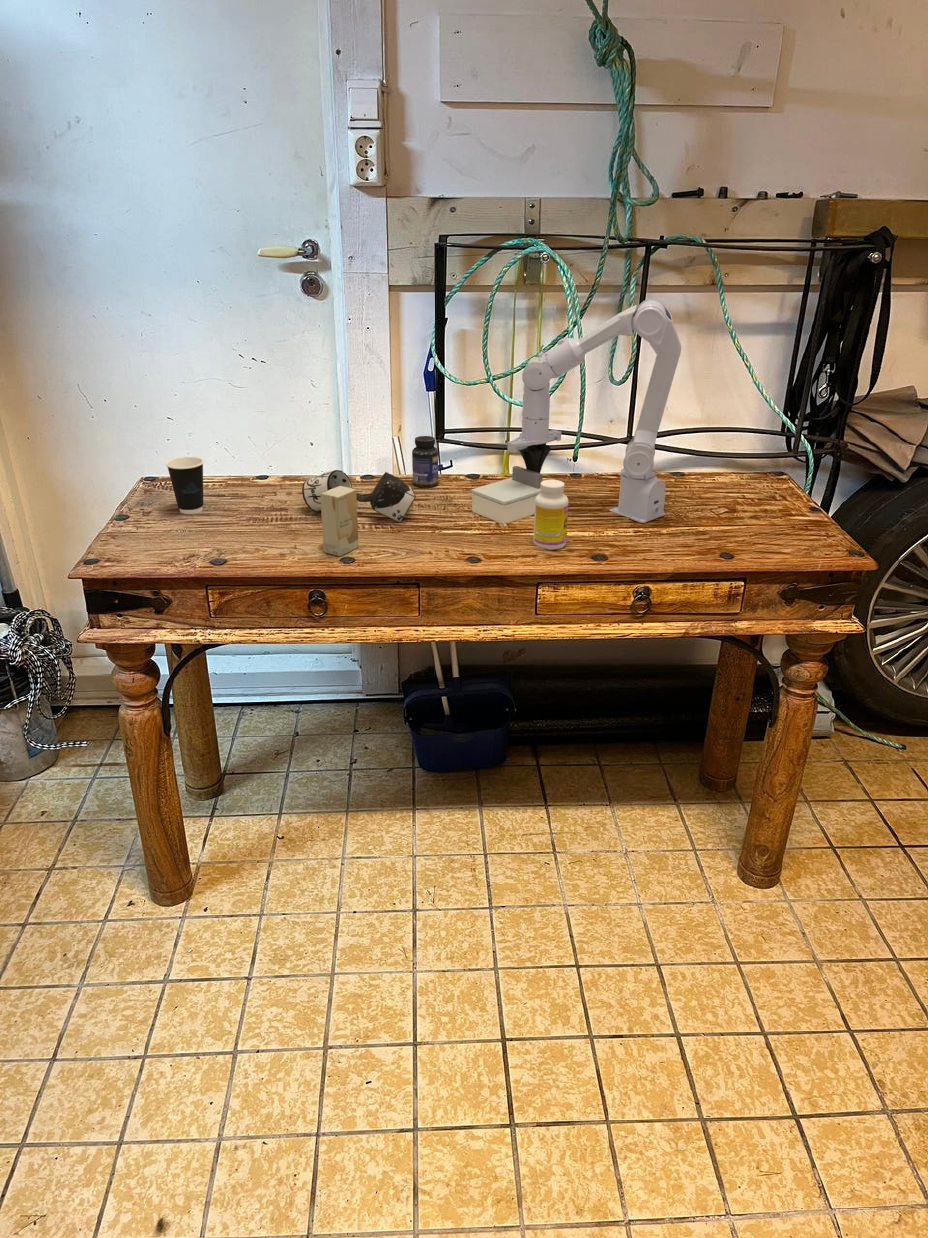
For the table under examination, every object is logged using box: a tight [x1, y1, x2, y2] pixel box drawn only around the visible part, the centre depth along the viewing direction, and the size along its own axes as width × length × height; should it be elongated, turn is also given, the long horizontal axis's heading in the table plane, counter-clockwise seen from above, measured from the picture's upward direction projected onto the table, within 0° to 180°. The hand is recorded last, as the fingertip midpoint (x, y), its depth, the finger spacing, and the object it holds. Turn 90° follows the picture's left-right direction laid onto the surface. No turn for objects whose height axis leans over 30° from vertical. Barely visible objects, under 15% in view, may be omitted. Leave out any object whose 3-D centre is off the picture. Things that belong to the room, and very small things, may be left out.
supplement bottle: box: [532, 479, 569, 551], centre depth 187 cm, size 7×7×13 cm
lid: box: [470, 465, 543, 505], centre depth 203 cm, size 12×10×4 cm
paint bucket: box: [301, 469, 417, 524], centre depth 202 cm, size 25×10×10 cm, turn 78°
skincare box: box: [320, 486, 359, 557], centre depth 185 cm, size 6×4×12 cm
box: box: [471, 493, 539, 525], centre depth 205 cm, size 12×10×5 cm
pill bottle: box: [411, 435, 440, 489], centre depth 221 cm, size 6×6×11 cm
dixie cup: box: [165, 456, 205, 515], centre depth 204 cm, size 8×8×11 cm
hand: (533, 477), depth 207 cm, fingers closed
